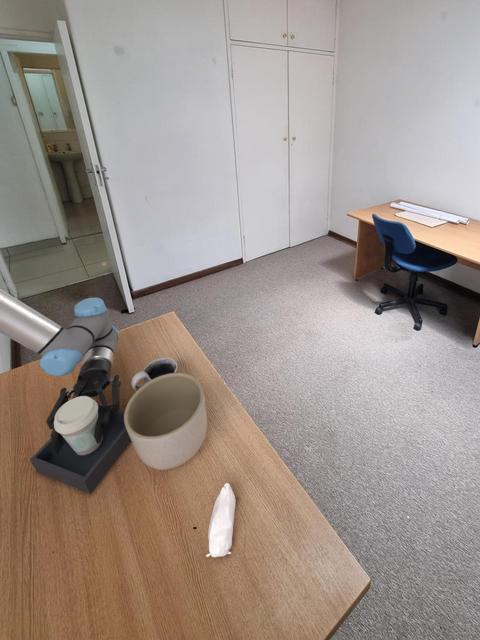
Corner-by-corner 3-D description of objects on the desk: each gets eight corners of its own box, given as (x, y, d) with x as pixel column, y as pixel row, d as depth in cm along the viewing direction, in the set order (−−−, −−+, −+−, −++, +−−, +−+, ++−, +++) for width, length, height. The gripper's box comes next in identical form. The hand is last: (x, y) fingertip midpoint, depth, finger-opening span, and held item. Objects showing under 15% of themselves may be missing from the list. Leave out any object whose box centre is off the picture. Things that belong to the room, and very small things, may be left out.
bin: (36, 472, 75) (29, 459, 73) (93, 412, 88) (88, 400, 86) (90, 494, 71) (84, 481, 69) (140, 428, 84) (136, 416, 82)
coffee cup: (59, 456, 76) (41, 423, 71) (88, 423, 83) (74, 390, 78) (89, 465, 74) (73, 432, 69) (117, 430, 82) (104, 398, 76)
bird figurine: (211, 509, 70) (204, 563, 60) (214, 482, 68) (208, 533, 59) (234, 509, 70) (231, 562, 61) (238, 482, 69) (235, 533, 60)
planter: (225, 435, 83) (218, 393, 76) (167, 498, 70) (154, 455, 64) (182, 401, 92) (173, 362, 85) (124, 452, 79) (108, 411, 72)
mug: (188, 381, 98) (182, 356, 93) (153, 415, 88) (145, 389, 83) (165, 369, 102) (159, 345, 98) (130, 400, 92) (121, 375, 88)
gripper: (139, 368, 96) (130, 440, 76) (58, 387, 90) (27, 472, 70) (133, 349, 93) (123, 419, 73) (49, 368, 86) (13, 450, 67)
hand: (76, 445), depth 72 cm, fingers closed on coffee cup, 8 cm apart
